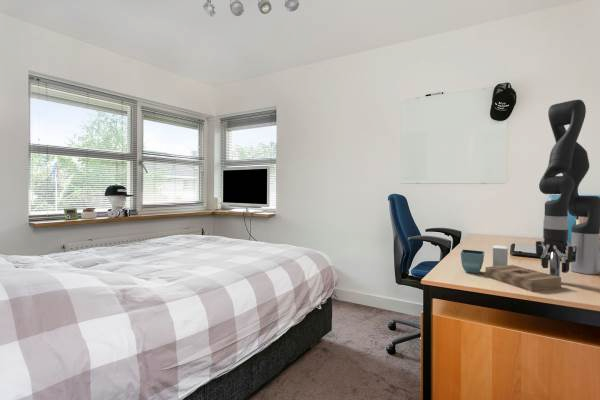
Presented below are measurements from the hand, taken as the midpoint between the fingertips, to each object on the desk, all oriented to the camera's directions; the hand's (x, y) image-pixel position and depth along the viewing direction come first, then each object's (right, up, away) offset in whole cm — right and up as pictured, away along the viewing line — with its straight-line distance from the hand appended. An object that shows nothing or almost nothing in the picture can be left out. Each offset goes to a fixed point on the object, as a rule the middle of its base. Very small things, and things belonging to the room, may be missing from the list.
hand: (554, 270), depth 125 cm
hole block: (-13, -5, +1) cm, 13 cm away
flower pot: (-23, -5, +17) cm, 29 cm away
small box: (-9, -5, +19) cm, 22 cm away
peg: (0, -5, 0) cm, 5 cm away
